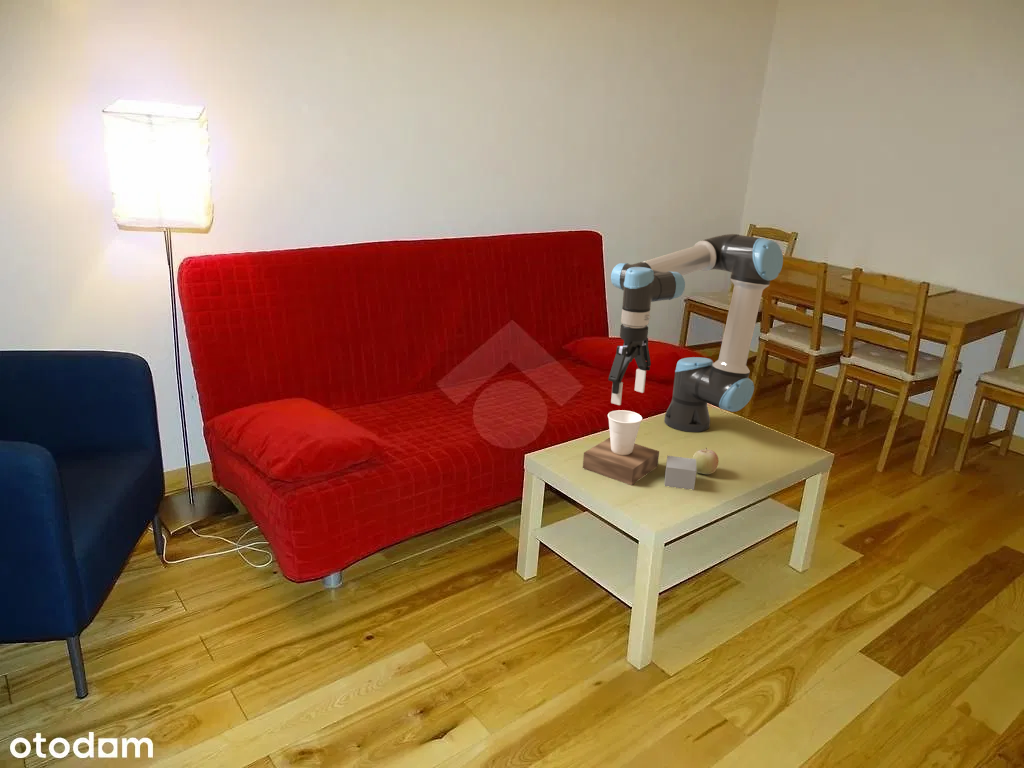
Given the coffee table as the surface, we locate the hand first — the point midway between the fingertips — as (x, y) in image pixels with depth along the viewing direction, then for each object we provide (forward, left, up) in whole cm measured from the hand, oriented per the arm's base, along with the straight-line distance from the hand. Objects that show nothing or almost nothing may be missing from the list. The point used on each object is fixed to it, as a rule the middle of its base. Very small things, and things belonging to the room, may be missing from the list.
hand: (627, 397), depth 202 cm
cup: (0, 0, -17) cm, 17 cm away
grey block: (-3, +17, -22) cm, 28 cm away
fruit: (-14, +20, -22) cm, 33 cm away
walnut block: (0, 0, -22) cm, 22 cm away
